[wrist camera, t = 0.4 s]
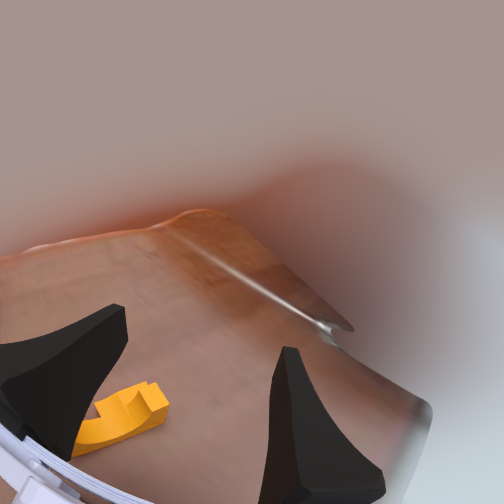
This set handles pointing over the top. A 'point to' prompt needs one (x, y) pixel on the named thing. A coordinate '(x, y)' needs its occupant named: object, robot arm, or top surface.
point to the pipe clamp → (122, 417)
